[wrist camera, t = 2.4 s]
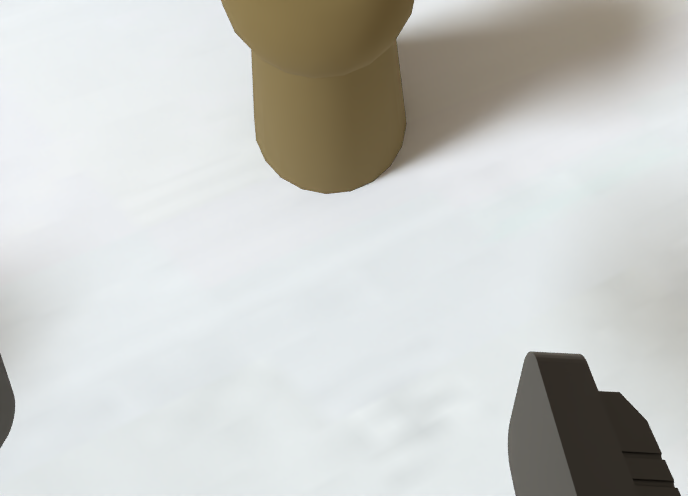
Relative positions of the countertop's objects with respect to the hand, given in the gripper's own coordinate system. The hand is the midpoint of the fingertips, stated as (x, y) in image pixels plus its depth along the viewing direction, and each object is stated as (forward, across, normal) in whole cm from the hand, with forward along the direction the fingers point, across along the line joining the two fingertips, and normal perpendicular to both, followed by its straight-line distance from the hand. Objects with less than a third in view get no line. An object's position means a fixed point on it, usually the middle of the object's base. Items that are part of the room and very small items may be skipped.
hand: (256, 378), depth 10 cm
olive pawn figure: (+18, 0, +3) cm, 18 cm away
